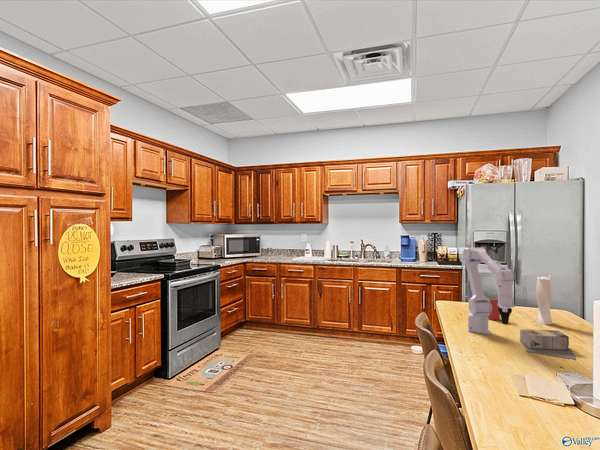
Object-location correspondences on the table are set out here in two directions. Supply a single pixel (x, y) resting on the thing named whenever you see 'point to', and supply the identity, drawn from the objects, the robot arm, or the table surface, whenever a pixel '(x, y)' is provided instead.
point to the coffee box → (544, 339)
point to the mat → (553, 352)
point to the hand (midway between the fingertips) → (504, 323)
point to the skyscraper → (544, 300)
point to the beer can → (494, 309)
